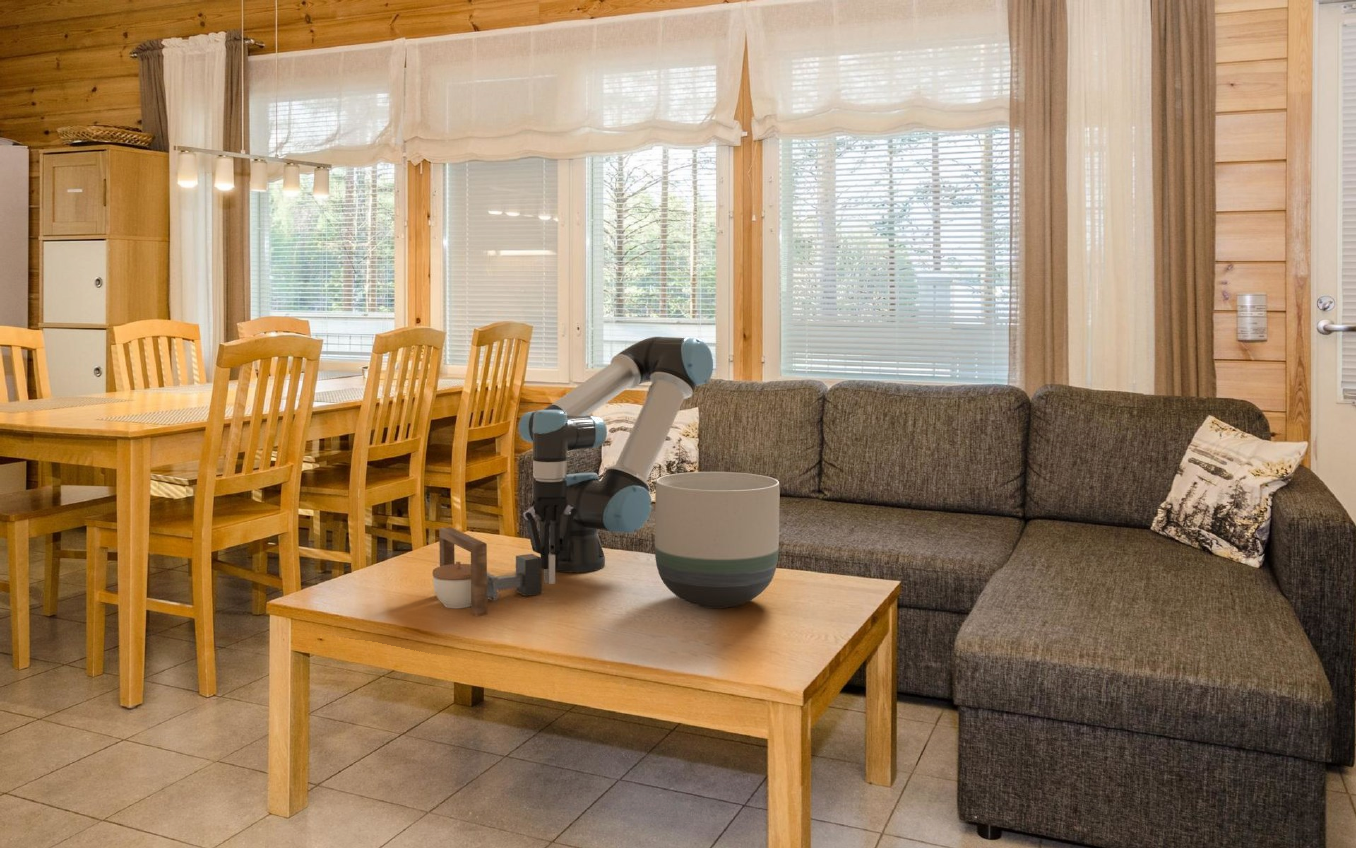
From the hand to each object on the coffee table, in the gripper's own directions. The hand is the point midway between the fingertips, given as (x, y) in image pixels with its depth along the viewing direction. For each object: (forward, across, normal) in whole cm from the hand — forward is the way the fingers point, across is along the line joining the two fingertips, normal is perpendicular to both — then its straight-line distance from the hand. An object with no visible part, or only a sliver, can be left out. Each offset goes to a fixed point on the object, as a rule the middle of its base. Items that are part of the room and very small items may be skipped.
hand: (549, 582), depth 245 cm
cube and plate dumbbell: (+2, +9, 0) cm, 9 cm away
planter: (+2, -27, +28) cm, 38 cm away
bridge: (+2, +21, 0) cm, 21 cm away
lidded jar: (+3, +22, 0) cm, 22 cm away
